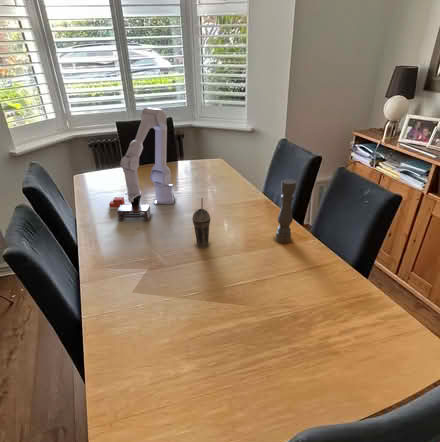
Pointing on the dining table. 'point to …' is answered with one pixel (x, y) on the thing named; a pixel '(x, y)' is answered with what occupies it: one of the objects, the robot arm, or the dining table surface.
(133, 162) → the robot arm
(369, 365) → the dining table surface
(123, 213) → the brown flanged block
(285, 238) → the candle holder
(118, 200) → the stepped red block
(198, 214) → the beverage cup
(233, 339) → the dining table surface
